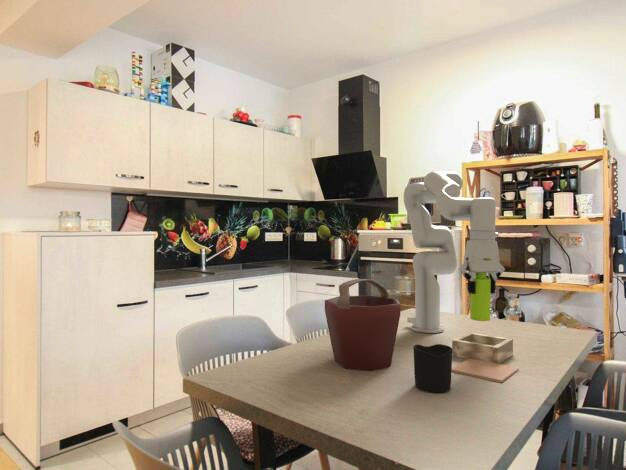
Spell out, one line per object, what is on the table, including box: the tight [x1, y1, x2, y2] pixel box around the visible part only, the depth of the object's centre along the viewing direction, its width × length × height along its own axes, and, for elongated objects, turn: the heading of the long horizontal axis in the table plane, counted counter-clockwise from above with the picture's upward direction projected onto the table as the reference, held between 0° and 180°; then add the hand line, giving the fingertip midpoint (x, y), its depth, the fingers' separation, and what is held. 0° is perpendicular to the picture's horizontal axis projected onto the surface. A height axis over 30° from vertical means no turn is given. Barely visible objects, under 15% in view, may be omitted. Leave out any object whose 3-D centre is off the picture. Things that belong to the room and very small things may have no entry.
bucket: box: [324, 278, 401, 372], centre depth 130 cm, size 24×22×25 cm
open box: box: [451, 332, 514, 364], centre depth 137 cm, size 14×14×5 cm
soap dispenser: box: [470, 258, 492, 322], centre depth 137 cm, size 6×7×20 cm
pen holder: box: [412, 343, 453, 394], centre depth 108 cm, size 9×9×10 cm
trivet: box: [451, 359, 520, 383], centre depth 121 cm, size 14×14×1 cm
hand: (481, 292), depth 137 cm, fingers closed on soap dispenser, 5 cm apart
